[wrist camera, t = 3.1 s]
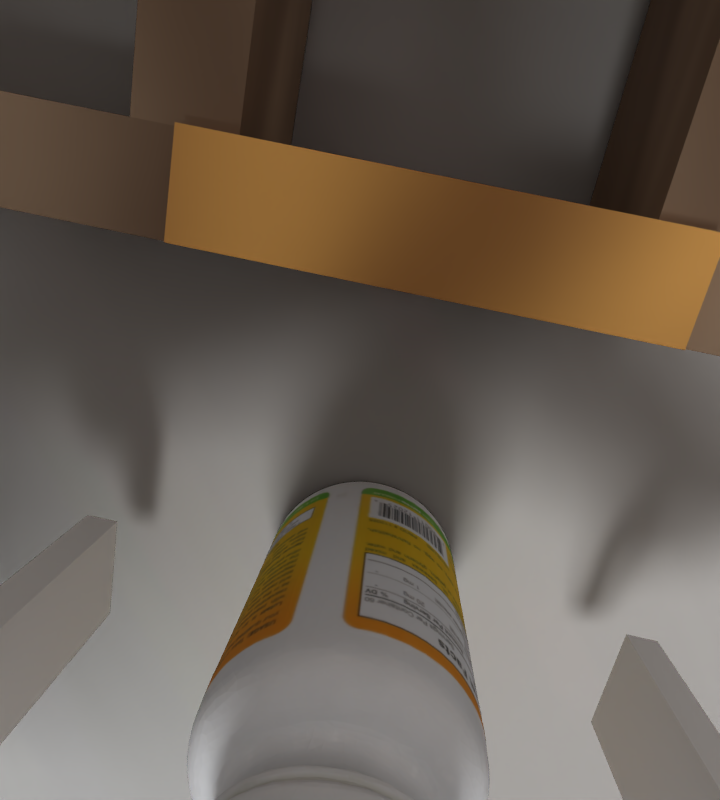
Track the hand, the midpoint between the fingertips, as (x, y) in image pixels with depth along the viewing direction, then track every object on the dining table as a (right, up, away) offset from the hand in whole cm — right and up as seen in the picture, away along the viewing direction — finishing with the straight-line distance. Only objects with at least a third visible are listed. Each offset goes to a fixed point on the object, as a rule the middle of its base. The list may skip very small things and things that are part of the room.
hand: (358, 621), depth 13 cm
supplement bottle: (0, +1, +3) cm, 3 cm away
